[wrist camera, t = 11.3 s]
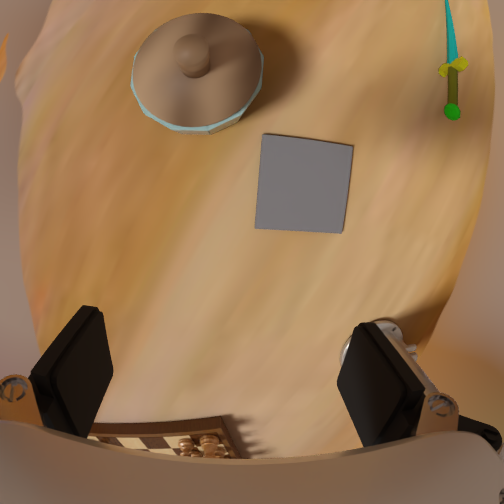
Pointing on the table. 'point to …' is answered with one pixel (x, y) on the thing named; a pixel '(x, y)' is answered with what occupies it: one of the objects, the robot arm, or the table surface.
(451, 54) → the toy sword
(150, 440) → the chess set
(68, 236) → the table surface
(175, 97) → the lid
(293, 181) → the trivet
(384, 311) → the table surface
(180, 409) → the table surface
